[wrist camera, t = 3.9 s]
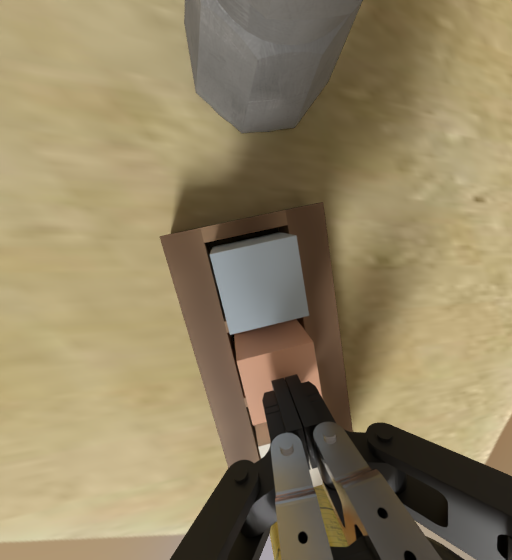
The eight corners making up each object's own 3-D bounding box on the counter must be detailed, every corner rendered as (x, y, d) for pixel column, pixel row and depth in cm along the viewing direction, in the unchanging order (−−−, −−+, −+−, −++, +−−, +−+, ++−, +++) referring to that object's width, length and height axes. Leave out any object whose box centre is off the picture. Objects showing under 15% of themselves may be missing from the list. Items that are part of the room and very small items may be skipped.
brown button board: (231, 446, 22) (232, 480, 19) (170, 233, 17) (159, 236, 15) (337, 416, 23) (354, 445, 20) (307, 205, 18) (322, 202, 15)
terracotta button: (246, 383, 19) (252, 425, 15) (233, 330, 17) (236, 361, 14) (303, 368, 19) (323, 406, 15) (293, 315, 18) (313, 341, 14)
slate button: (228, 309, 17) (229, 334, 13) (213, 246, 16) (209, 254, 12) (290, 294, 17) (309, 315, 14) (279, 232, 16) (296, 235, 12)
